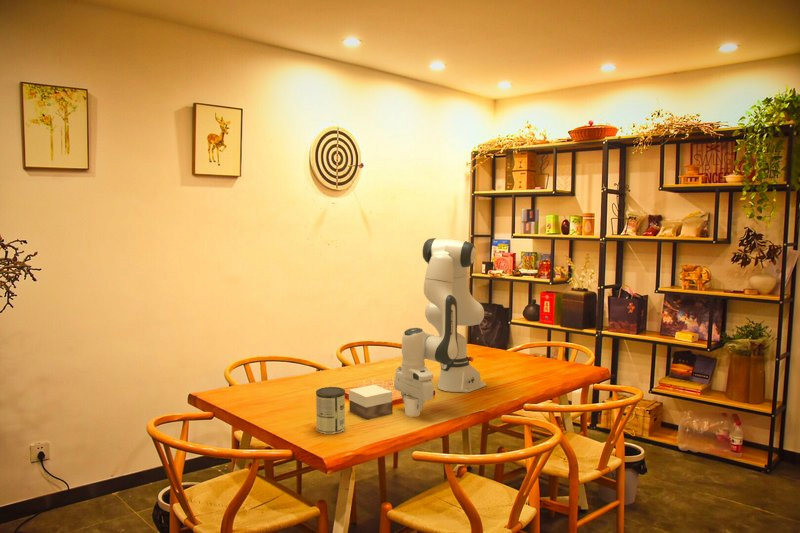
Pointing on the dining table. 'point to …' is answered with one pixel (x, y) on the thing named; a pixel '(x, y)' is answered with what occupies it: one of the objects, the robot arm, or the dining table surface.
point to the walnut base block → (371, 410)
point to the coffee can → (330, 410)
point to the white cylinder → (411, 406)
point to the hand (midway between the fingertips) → (412, 406)
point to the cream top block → (370, 395)
